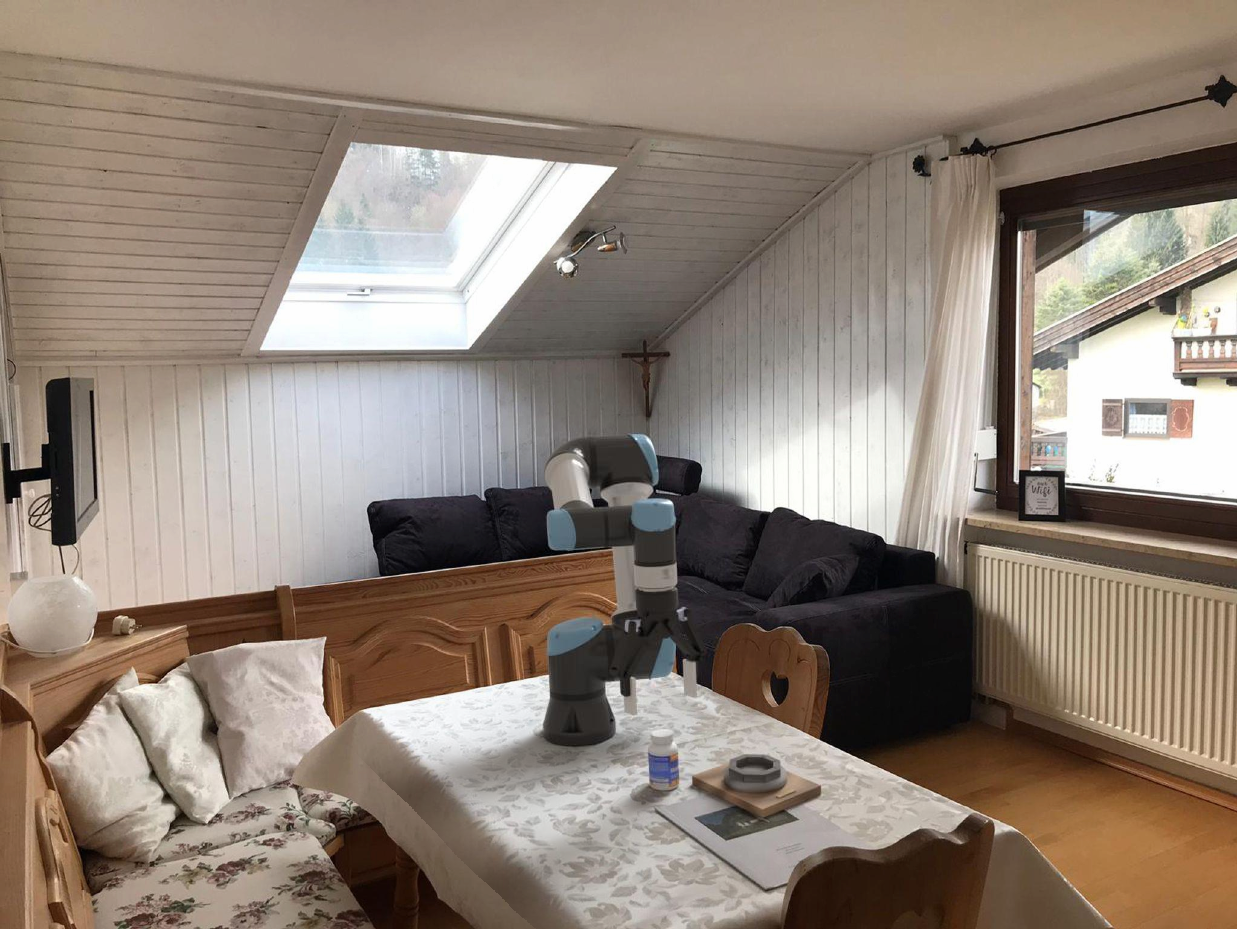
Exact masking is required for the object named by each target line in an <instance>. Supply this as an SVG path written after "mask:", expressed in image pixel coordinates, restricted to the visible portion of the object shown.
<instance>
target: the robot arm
mask: <svg viewBox="0 0 1237 929" xmlns="http://www.w3.org/2000/svg"><path fill="white" fill-rule="evenodd" d="M657 458H658V457H657V455H656V451H655V446H654V445H653V442H652V440H651V439H650V437H648V436H647V435H645V434H641V433H639V434H638V433H637V434H633V433H632V434H631V433H626V434H612V435H611V434H609V435H595V436H593V435H592V436H589V435H588V436H579V437H576V438H572V439H570V440H568V441H565V442H564V443H563V444H561V445H560V446H558V447H557V448H556V449H555V450H554V451H552V453H551V454H550V455H549V456H548V458H547V460H546V463H545V466H544V479H545V483H546V485H547V487H548V489H550V491H551V494H552V501H553V507H554V509H551V510H549V511H548V512H547V513H546V514H547V515H546V530H547V531H546V532H547V541H548V542H547V543H548V547H549V548H550V550H554V551H568V552H569V551H574V550H576V551H577V550H586V549H587V550H588V549H589V550H590V549H591V550H592V549H601V548H612V549H611V550H612V557H613V570H614V580H615V581H614V582H615V593H616V604H617V605H616V606H617V608H616V610H615V611H614V612H613V613H612V615H611V617H610V618H611V624H604V622H603V620H602V619H601V618H600V617H594V616H592V617H589V616H586V617H585V616H583V617H578V618H577V617H576V618H573V619H568V620H566V621H563V622H560V623H558V624H556V625H554V626H553V627H551V629H550V630H549V631H548V633H547V638H546V639H547V640H546V642H547V645H546V647H547V648H546V652H545V653H546V655H547V661H548V662H547V663H548V664H547V666H548V686H549V700H548V703H547V708H546V711H545V714H544V720H543V722H542V731H543V732H542V733H543V734H542V735H543V738H544V739H545V740H546V741H548V742H551V743H553V744H555V745H561V746H573V747H574V746H589V745H593V744H597V743H600V742H605V741H606V740H609V739H610V738H612V737H613V736H614V735H615V734H616V732H617V725H616V724H617V723H616V722H617V721H616V717H615V715H614V712H613V710H612V708H611V704H610V702H609V698H608V696H607V692H606V688H607V687H606V683H611V682H619V690H620V692H619V693H620V695H621V696H623V708H624V713H627V714H629V715H630V716H631V715H632V716H637V715H638V707H637V706H638V705H637V704H638V703H637V685H636V684H637V682H636V681H637V680H650V681H651V680H653V679H659V678H660V679H661V678H666V677H668V676H670V674H671V673H672V672H673V669H674V665H675V658H676V649H677V648H678V649H679V650H680V651H681V652H682V653H683V655H684V656H685V657H686V658H684V659H682V669H683V671H682V672H683V673H682V674H683V693H684V694H683V695H684V696H687V697H690V698H692V699H695V698H698V692H697V689H698V688H697V678H698V677H699V662H702V660H703V656H706V655H707V653H708V649H707V648H706V647H707V646H705V644H704V641H703V639H702V637H701V635H700V632H699V630H698V629H697V627H696V624H695V622H694V620H693V614H692V613H693V612H692V609H691V608H687V607H684V606H679V593H678V592H679V590H678V588H677V586H676V585H677V584H678V568H677V564H678V563H677V551H676V550H677V548H676V544H677V543H676V521H677V518H676V515H675V506H674V503H673V501H671V499H667V498H649V497H651V495H652V494H653V490H654V488H653V487H654V486H656V485H658V484H659V483H658V482H659V476H660V475H659V467H658V466H659V465H658V459H657ZM590 489H591V490H592V489H599V491H600V497H601V498H602V499H603V500H604V501H606V502H607V503H608V506H596V507H594V503H593V499H592V496H591V492H590ZM678 621H679V624H680V625H681V627H682V630H683V632H684V633H685V636H686V637H687V639H686V638H685V637H684V635H683V634H682V631H681V630H680V629H679V628H678V626H677V623H678ZM676 646H677V648H676Z"/></svg>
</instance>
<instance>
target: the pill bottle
mask: <svg viewBox="0 0 1237 929" xmlns="http://www.w3.org/2000/svg"><path fill="white" fill-rule="evenodd" d="M650 740H651V742H650V744H648V746H647V755H648V756H647V757H648V760H647V761H648V778H649V780H648V781H649V786H650V788H652V789H654V790H657V791H662V792H663V791H672V790H674V789H676V788H677V787H679V785H680V766H679V748H678V745H677V744H676V742H674V732H673V730H671V729H667V728H659V729H658V728H657V729H654V730H653V731H651V733H650Z"/></svg>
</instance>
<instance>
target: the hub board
mask: <svg viewBox="0 0 1237 929" xmlns="http://www.w3.org/2000/svg"><path fill="white" fill-rule="evenodd" d="M691 783H692V784H691V785H693V786H696V787H697V788H700V789H701V790H704V791H706V792H708V793H710V794H713V795H714V796H717V797H718V798H721V799H722V798H723V800H725V801H726V800H727V802H728V803H731V804H733V805H735V806H737V807H739V808H740V809H744V810H745V811H747V812H750V813H751V814H753V815H756V816H758V817H760V818H762V819H763V818H764V819H765V818H767V817H770V816H771V815H774V814H776V813H778V812H780V811H781V812H782V811H783V810H785V809H788V808H791V807H793V806H795V805H797V804H800V803H802V802H806V801H807V800H810V799H812V798H815V797H817V796H819V795H822V785H821V784H820V783H819V784H818V783H816V782H813V781H812V780H809V779H807V778H804V777H802V776H799V775H797V774H795V773H792V772H790V771H788V770H787V769H785V767H783V766H782V765H781V760H780V759H778V758H776V757H772V756H770V755H767V754H765V753H763V754H761V753H760V754H759V753H758V754H756V753H755V754H754V753H753V754H752V753H750V754H749V753H746V754H742V755H738V756H736V757H734V758H730V759H729V762H726V763H724V764H721V765H719V766H715V767H713V768H710V769H708V770H704V771H701V772H699V773H696V774H694V775H691Z"/></svg>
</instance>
